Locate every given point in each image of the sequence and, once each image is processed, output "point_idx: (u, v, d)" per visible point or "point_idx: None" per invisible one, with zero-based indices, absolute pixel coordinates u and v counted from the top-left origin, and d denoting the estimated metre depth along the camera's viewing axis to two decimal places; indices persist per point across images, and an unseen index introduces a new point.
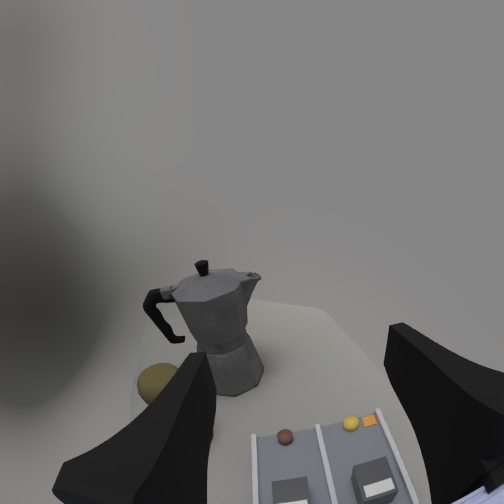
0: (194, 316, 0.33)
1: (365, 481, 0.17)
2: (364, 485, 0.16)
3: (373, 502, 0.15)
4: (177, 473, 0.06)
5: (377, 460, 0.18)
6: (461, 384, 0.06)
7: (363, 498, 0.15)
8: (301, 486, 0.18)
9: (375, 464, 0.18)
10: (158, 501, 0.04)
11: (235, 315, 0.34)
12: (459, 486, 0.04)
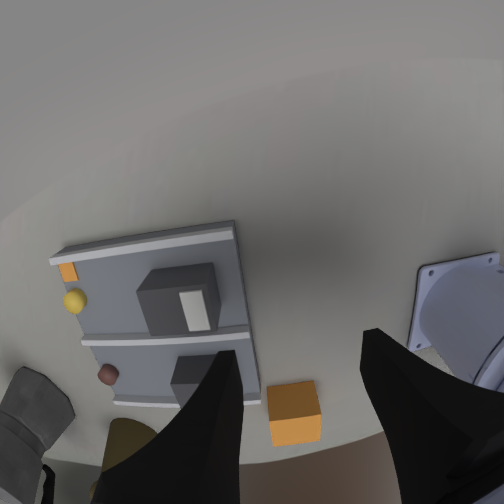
0: (30, 491, 0.13)
1: (180, 326, 0.16)
2: (187, 328, 0.16)
3: (215, 307, 0.17)
4: (219, 474, 0.06)
5: (143, 304, 0.15)
6: (429, 396, 0.06)
7: (211, 331, 0.16)
8: (186, 389, 0.18)
9: (150, 308, 0.15)
10: None
11: (1, 455, 0.13)
12: (427, 501, 0.04)
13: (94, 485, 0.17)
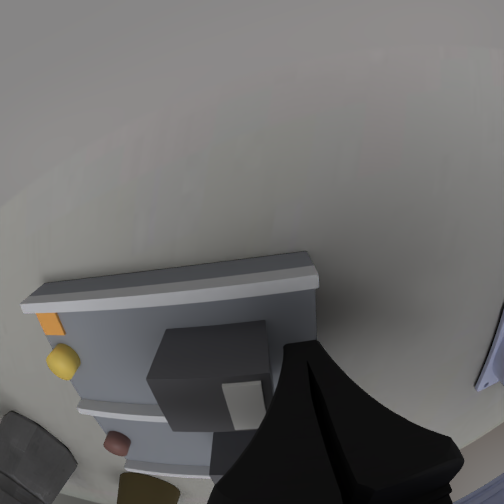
0: None
1: (220, 424, 0.09)
2: (231, 425, 0.09)
3: (273, 392, 0.10)
4: None
5: (159, 396, 0.09)
6: (340, 421, 0.06)
7: None
8: None
9: (171, 401, 0.09)
10: None
11: None
12: None
13: None
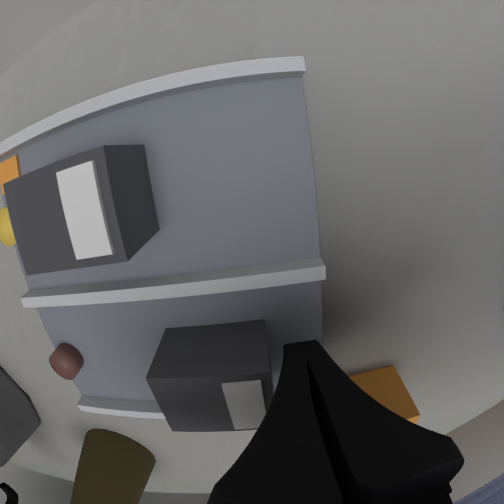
0: None
1: (62, 250, 0.07)
2: (74, 253, 0.07)
3: (133, 215, 0.08)
4: None
5: (11, 209, 0.06)
6: (340, 421, 0.06)
7: (116, 262, 0.07)
8: (179, 390, 0.09)
9: (20, 215, 0.07)
10: None
11: None
12: None
13: None
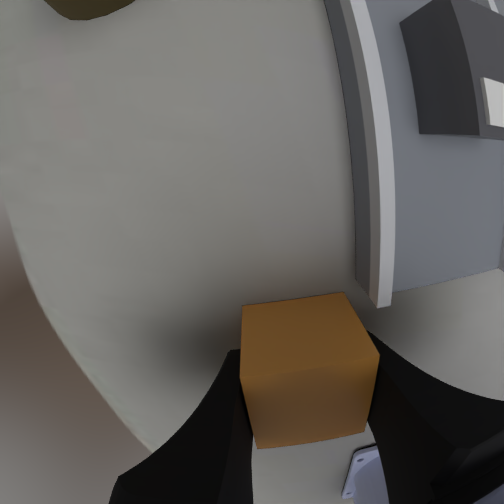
0: None
1: None
2: None
3: None
4: (237, 474, 0.06)
5: None
6: (414, 401, 0.06)
7: None
8: None
9: None
10: None
11: None
12: None
13: None
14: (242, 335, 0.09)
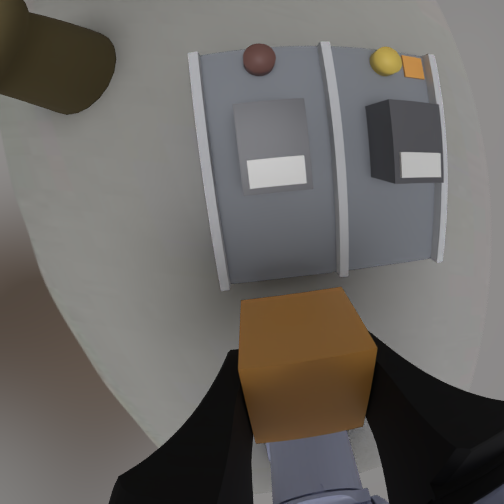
0: None
1: (404, 142, 0.11)
2: (401, 149, 0.12)
3: None
4: (237, 474, 0.06)
5: (426, 106, 0.11)
6: (415, 401, 0.06)
7: (395, 176, 0.12)
8: (293, 121, 0.11)
9: (422, 112, 0.11)
10: None
11: None
12: None
13: None
14: (240, 329, 0.10)
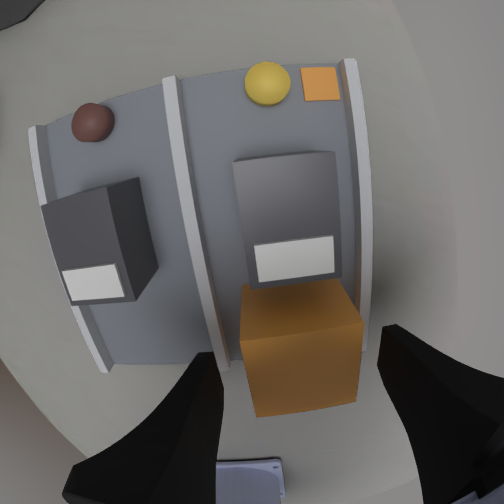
0: None
1: (262, 228, 0.09)
2: (257, 240, 0.09)
3: None
4: (188, 473, 0.06)
5: (307, 160, 0.08)
6: (452, 387, 0.06)
7: (250, 280, 0.09)
8: (98, 221, 0.09)
9: (299, 173, 0.08)
10: (171, 503, 0.04)
11: None
12: (450, 490, 0.04)
13: None
14: (242, 308, 0.11)
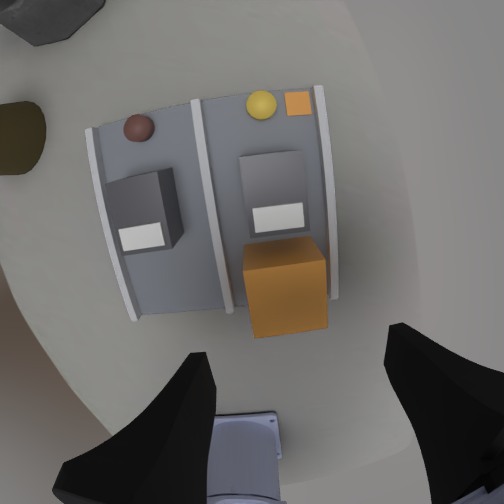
0: None
1: (257, 197, 0.14)
2: (254, 205, 0.14)
3: None
4: (177, 472, 0.06)
5: (285, 156, 0.13)
6: (460, 384, 0.06)
7: (249, 232, 0.14)
8: (150, 193, 0.14)
9: (280, 163, 0.13)
10: (158, 501, 0.04)
11: None
12: (459, 486, 0.04)
13: None
14: (244, 256, 0.16)
